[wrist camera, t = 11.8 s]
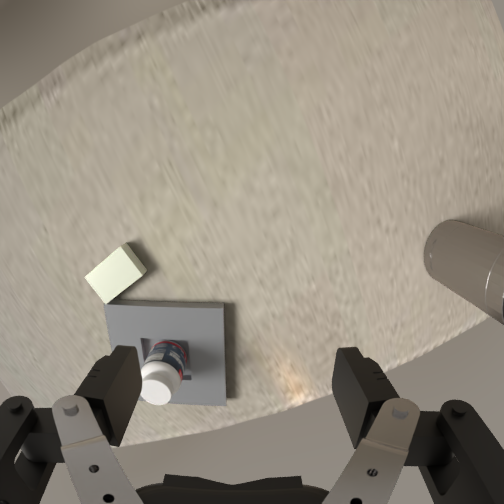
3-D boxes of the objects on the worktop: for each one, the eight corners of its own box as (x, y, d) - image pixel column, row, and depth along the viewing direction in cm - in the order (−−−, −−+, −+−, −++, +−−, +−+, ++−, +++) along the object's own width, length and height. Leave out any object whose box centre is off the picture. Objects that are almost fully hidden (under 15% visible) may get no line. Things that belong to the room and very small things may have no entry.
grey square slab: (223, 302, 41) (223, 308, 40) (226, 398, 45) (226, 405, 44) (108, 299, 41) (103, 304, 39) (126, 391, 45) (122, 398, 43)
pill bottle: (193, 364, 43) (185, 405, 34) (162, 373, 43) (148, 413, 35) (177, 334, 42) (163, 371, 33) (144, 344, 42) (126, 381, 33)
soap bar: (127, 242, 40) (120, 246, 37) (148, 269, 40) (142, 275, 38) (92, 271, 40) (84, 277, 38) (112, 297, 41) (105, 304, 39)
